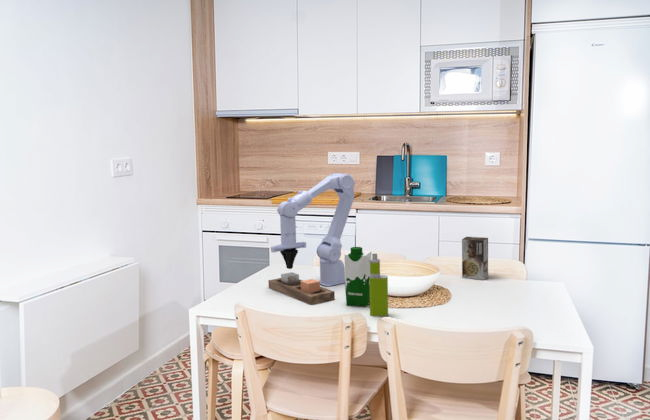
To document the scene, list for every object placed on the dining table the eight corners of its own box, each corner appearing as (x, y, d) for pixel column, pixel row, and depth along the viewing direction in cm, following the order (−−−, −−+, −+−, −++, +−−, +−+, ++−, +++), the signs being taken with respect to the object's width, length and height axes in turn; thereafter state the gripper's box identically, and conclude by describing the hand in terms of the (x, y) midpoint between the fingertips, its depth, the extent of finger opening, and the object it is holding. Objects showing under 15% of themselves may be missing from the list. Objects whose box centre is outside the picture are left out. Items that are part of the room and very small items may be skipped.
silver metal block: (292, 280, 219) (291, 272, 219) (299, 283, 215) (298, 274, 215) (281, 282, 216) (280, 274, 216) (287, 285, 212) (287, 276, 212)
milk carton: (343, 306, 193) (341, 248, 191) (350, 298, 202) (349, 243, 199) (368, 308, 190) (367, 249, 188) (374, 300, 199) (373, 244, 196)
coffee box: (488, 277, 228) (489, 237, 226) (483, 280, 222) (484, 240, 220) (466, 274, 232) (466, 236, 230) (461, 278, 227) (461, 238, 225)
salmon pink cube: (312, 288, 208) (311, 279, 207) (319, 290, 204) (319, 281, 203) (300, 290, 205) (300, 281, 205) (308, 293, 201) (308, 283, 201)
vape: (370, 312, 185) (369, 252, 183) (388, 313, 184) (387, 252, 182) (369, 316, 182) (368, 255, 179) (387, 316, 181) (386, 255, 178)
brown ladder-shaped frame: (290, 283, 226) (290, 276, 225) (334, 299, 201) (334, 291, 201) (268, 287, 220) (268, 280, 219) (311, 305, 195) (311, 296, 195)
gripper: (298, 229, 221) (300, 263, 223) (266, 234, 213) (267, 269, 214) (308, 231, 215) (309, 266, 217) (275, 236, 207) (277, 272, 209)
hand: (289, 268), depth 215 cm, fingers closed
